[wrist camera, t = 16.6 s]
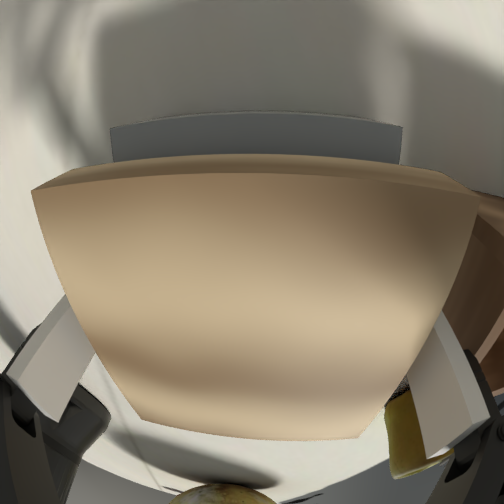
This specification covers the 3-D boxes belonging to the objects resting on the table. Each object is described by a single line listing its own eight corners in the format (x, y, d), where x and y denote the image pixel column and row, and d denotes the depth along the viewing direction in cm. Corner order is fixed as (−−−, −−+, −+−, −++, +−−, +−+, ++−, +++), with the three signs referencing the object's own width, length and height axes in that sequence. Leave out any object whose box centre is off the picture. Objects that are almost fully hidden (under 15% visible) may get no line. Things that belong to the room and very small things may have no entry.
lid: (90, 161, 8) (30, 190, 5) (425, 163, 7) (480, 196, 4) (157, 376, 14) (141, 419, 11) (352, 390, 13) (357, 437, 10)
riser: (193, 341, 18) (177, 388, 14) (158, 118, 11) (109, 128, 7) (327, 349, 17) (332, 400, 14) (365, 118, 10) (402, 126, 6)
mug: (372, 400, 17) (420, 500, 9) (463, 341, 18) (513, 421, 10) (355, 429, 25) (385, 495, 17) (425, 389, 26) (457, 448, 18)
